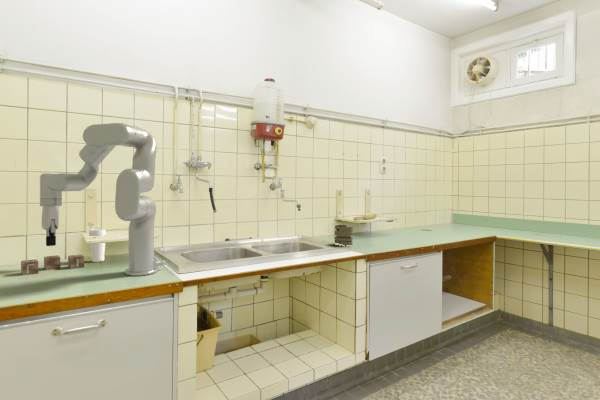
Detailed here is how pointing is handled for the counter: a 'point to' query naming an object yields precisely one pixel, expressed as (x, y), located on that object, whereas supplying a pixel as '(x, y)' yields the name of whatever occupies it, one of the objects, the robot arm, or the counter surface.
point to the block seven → (29, 267)
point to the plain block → (52, 262)
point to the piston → (343, 234)
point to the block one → (76, 261)
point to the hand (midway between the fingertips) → (50, 245)
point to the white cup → (97, 245)
